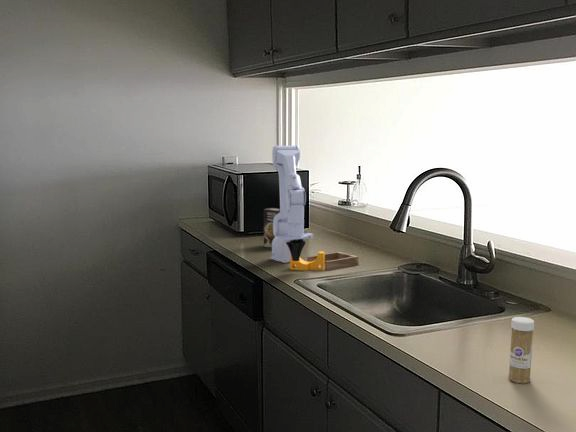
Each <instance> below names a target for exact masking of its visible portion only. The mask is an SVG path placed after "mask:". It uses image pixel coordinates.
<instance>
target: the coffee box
mask: <svg viewBox="0 0 576 432" xmlns="http://www.w3.org/2000/svg"><path fill="white" fill-rule="evenodd" d="M278 213H280V208H277V207H267V208H264V209H263V247H265V248H272V241H273V239H274V238H275V236H274V233H273V219H274V217H275V216H276V215H277V214H278ZM278 221H287V220H278Z"/></svg>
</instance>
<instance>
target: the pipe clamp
mask: <svg viewBox="0 0 576 432" xmlns="http://www.w3.org/2000/svg"><path fill="white" fill-rule="evenodd" d="M325 254H326V252H325V251H318V253H317V255H318V257H317V259H316V260H314V261H312V262H307V260H304V259H303V258H301V257H300V258H299V261H293V260H292V256H291V261H290V262H289V270H291V271H292V270H294V271H309V270H311V271H312V270H313V271H324V270H325Z"/></svg>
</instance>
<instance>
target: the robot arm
mask: <svg viewBox="0 0 576 432" xmlns="http://www.w3.org/2000/svg"><path fill="white" fill-rule="evenodd" d="M300 154H301V150H300V147H299V145H298V144H296V145H273V147H272V166H273V168H274V169H276V170H277V172H278V184H279V185H278V187H279V209H280V213H278V214H277V215H276V216H275V217H274V219H273V233H274V236H275V238H274V239H273V241H272V247H271V257H270V259H269V260H274V261H276V262H280V263H286V264H287V263H290V261H291V256H292V260H293V261H299V258H301V255H302V251H303V249H304V247H305V245H306V241H305V240H313V239H314V233H311V232H306V233H305V228H304V227H305V219H304V218H305V206H306V202H307V195H306V194H307V193H306V190H305V188H304V187H303V186H302V185H303V184H302V181H301V176H300V175H299V174H297V169H296V168H297V166H298V165H299V161H300V157H301V155H300ZM278 220H287V221H278Z"/></svg>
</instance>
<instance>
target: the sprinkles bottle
mask: <svg viewBox="0 0 576 432" xmlns="http://www.w3.org/2000/svg"><path fill="white" fill-rule="evenodd" d="M510 324H511V325H510V326H511V337H510V338H511V339H510V350H509V369H508V379H509V380H510V381H511V382H513V383H515V384H516V383H517V384H527V383H530V382H531V370H532V369H531V367H532V355H533V335H534V330H535V320H533V319H532V318H530V317H525V316H515V317H512V318H511V323H510Z"/></svg>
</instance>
